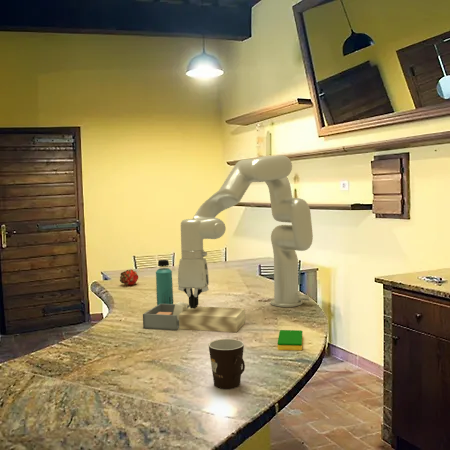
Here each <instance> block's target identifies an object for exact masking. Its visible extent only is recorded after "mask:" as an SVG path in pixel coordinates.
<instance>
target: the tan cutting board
mask: <svg viewBox="0 0 450 450" xmlns="http://www.w3.org/2000/svg"><path fill="white" fill-rule="evenodd" d="M245 310H246V309H245V308H241V307H223V306H222V307H220V306H218V307H217V306H215V307H214V306H199V305H198V306H197V307H196V308H195V309H194V308H190V307H189V308H187V309H186V310H184V311H183V312H182V313H180V314H179V329H178V330H190V331H191V330H192V331H205V332H206V331H208V332H209V331H210V332H225V333H238V331H239V330H240V329H241V327H243V326H244V324H245V323H246V314H245V313H246V311H245Z"/></svg>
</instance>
